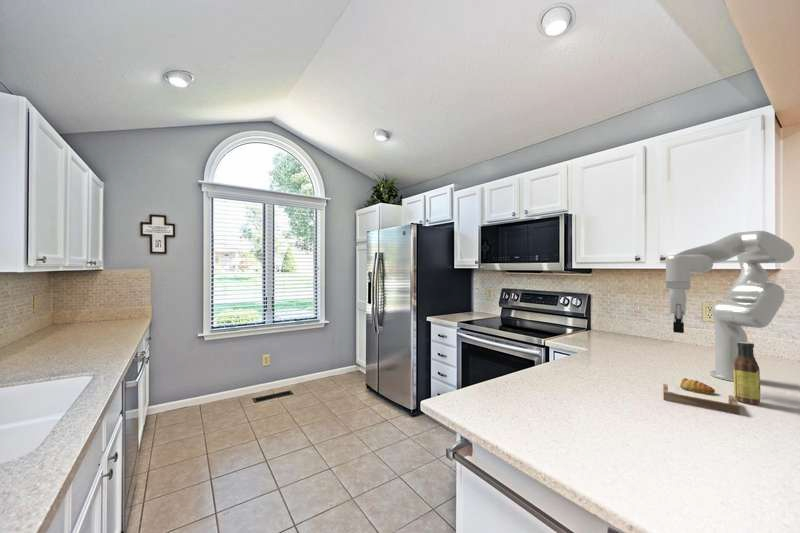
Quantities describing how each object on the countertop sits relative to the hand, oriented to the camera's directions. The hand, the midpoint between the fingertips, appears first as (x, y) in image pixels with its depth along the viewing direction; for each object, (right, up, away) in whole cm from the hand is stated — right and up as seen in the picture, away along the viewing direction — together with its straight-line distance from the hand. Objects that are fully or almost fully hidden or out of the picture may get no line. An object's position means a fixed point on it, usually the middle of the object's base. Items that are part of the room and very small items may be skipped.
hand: (678, 332), depth 134 cm
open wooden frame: (-11, -19, -21) cm, 30 cm away
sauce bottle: (+6, -20, -20) cm, 29 cm away
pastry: (-2, -20, -9) cm, 22 cm away
